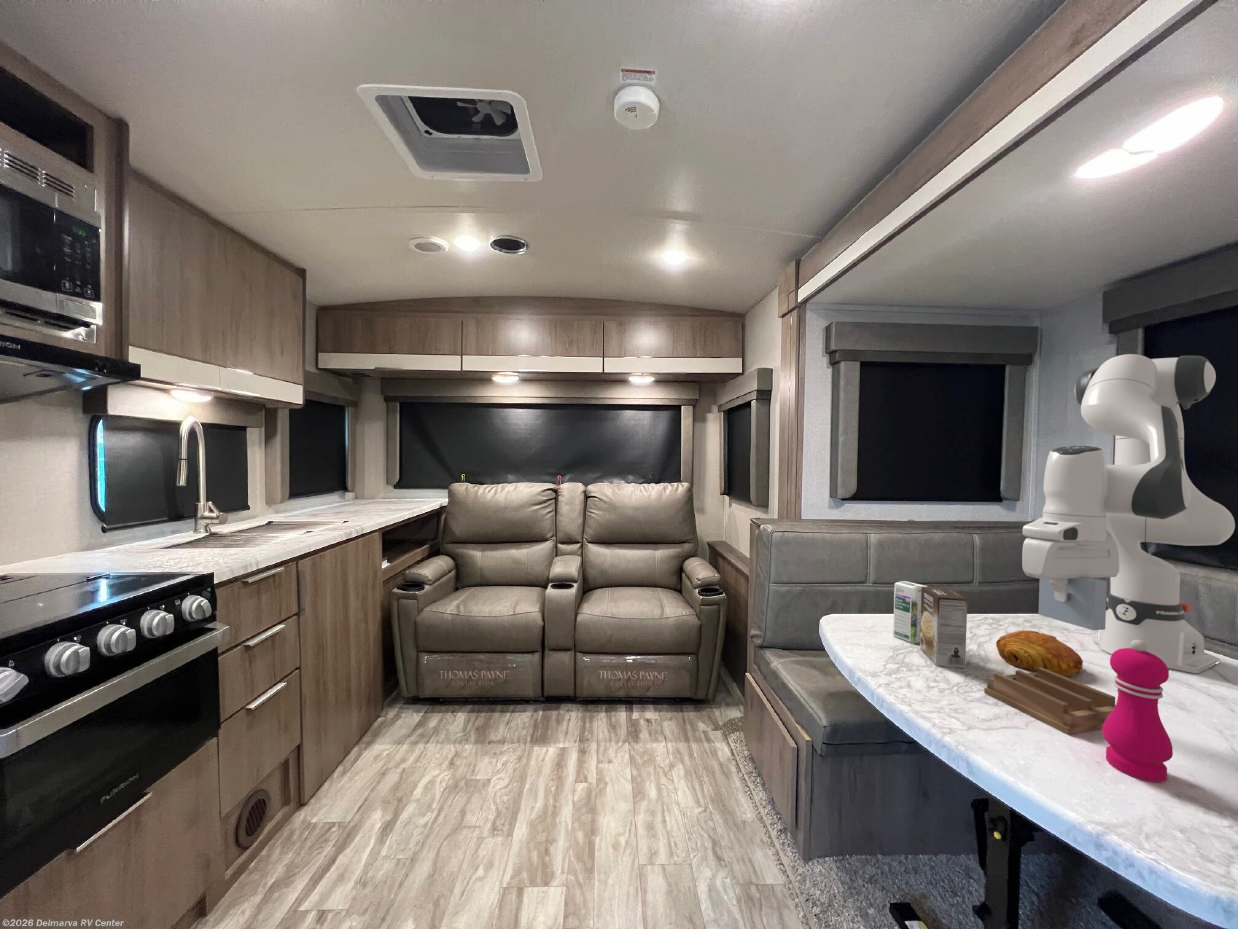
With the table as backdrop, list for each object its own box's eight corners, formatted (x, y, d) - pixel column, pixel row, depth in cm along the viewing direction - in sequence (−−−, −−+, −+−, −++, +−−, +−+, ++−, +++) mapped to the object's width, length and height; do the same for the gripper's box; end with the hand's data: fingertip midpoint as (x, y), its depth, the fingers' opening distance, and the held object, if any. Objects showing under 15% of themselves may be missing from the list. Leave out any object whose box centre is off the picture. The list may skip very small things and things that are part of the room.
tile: (1049, 613, 94) (1050, 569, 94) (1105, 629, 85) (1106, 581, 85) (1038, 614, 93) (1039, 570, 93) (1093, 630, 84) (1095, 581, 84)
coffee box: (918, 649, 114) (919, 585, 114) (947, 652, 113) (948, 587, 113) (935, 666, 105) (937, 596, 105) (967, 669, 104) (969, 598, 104)
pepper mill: (1088, 754, 74) (1091, 631, 74) (1128, 752, 75) (1132, 630, 74) (1142, 786, 67) (1147, 650, 67) (1186, 784, 67) (1191, 649, 67)
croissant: (984, 664, 112) (980, 632, 111) (1027, 648, 116) (1024, 617, 116) (1055, 691, 98) (1052, 655, 98) (1101, 672, 103) (1098, 637, 102)
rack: (1036, 685, 97) (1037, 664, 96) (1126, 724, 83) (1126, 700, 82) (984, 692, 93) (984, 671, 93) (1067, 734, 79) (1068, 709, 79)
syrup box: (892, 636, 123) (893, 582, 122) (905, 632, 125) (906, 580, 125) (914, 644, 118) (915, 588, 117) (927, 640, 120) (928, 585, 120)
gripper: (1092, 526, 94) (1089, 594, 94) (1015, 527, 90) (1013, 597, 90) (1132, 531, 88) (1130, 603, 88) (1052, 531, 84) (1050, 607, 84)
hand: (1070, 600), depth 89 cm, fingers closed on tile, 3 cm apart
